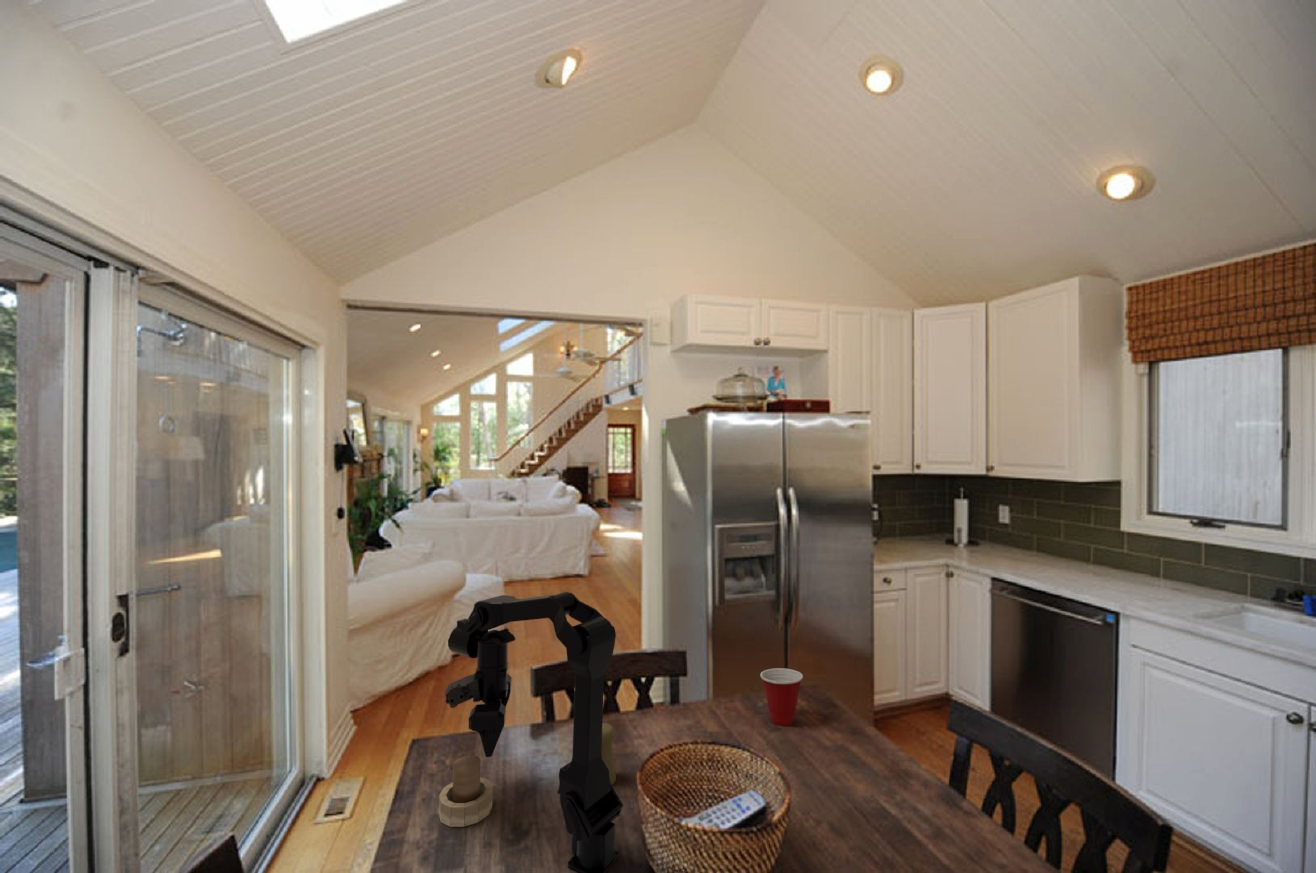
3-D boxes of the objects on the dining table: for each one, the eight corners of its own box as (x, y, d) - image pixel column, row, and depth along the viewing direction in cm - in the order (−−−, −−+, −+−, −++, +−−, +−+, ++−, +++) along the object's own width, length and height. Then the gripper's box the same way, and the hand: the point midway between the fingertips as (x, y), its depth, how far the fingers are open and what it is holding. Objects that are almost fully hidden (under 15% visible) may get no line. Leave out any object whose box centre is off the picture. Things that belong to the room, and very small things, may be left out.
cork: (611, 789, 112) (612, 734, 112) (583, 785, 113) (583, 731, 113) (619, 772, 118) (619, 720, 118) (592, 769, 119) (593, 717, 119)
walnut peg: (485, 807, 106) (486, 759, 106) (465, 822, 102) (466, 772, 102) (466, 799, 108) (467, 752, 109) (446, 813, 104) (447, 765, 104)
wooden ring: (501, 803, 107) (502, 785, 107) (464, 833, 99) (464, 813, 99) (467, 789, 111) (467, 772, 111) (428, 816, 103) (428, 797, 103)
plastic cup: (777, 706, 149) (777, 662, 150) (811, 721, 141) (811, 674, 141) (751, 718, 142) (751, 671, 143) (785, 735, 134) (785, 685, 135)
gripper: (457, 649, 115) (456, 724, 115) (439, 685, 97) (437, 775, 96) (512, 645, 117) (511, 719, 117) (504, 680, 99) (503, 768, 98)
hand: (491, 743), depth 107 cm, fingers open, 9 cm apart
